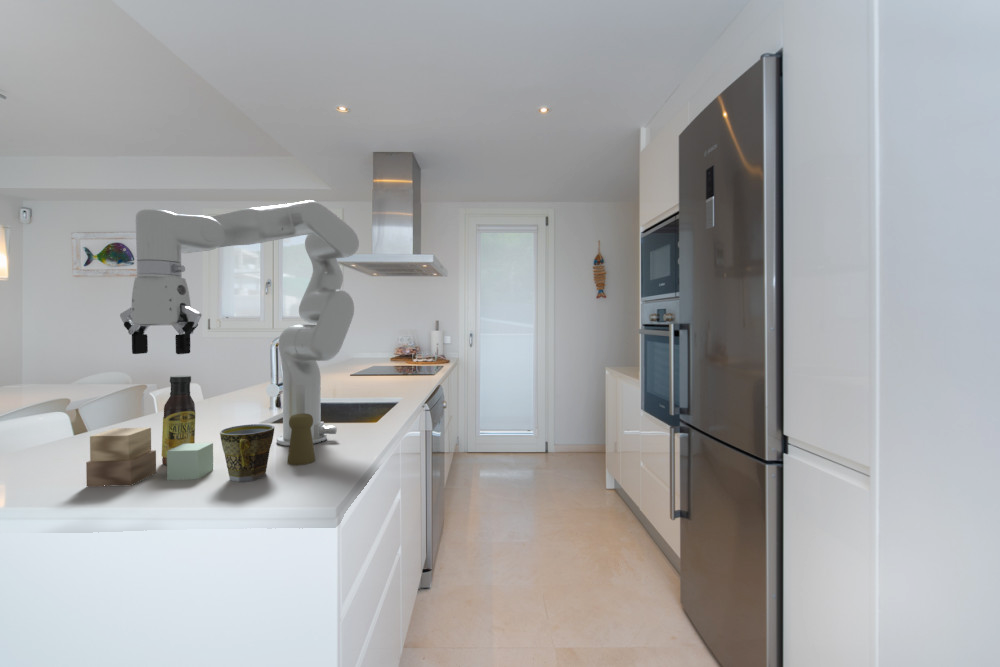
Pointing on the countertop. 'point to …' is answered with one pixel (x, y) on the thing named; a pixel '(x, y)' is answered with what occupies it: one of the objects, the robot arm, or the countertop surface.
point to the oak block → (120, 444)
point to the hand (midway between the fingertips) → (161, 353)
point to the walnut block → (121, 470)
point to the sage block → (189, 461)
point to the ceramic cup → (247, 450)
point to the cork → (301, 440)
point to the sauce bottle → (178, 416)
